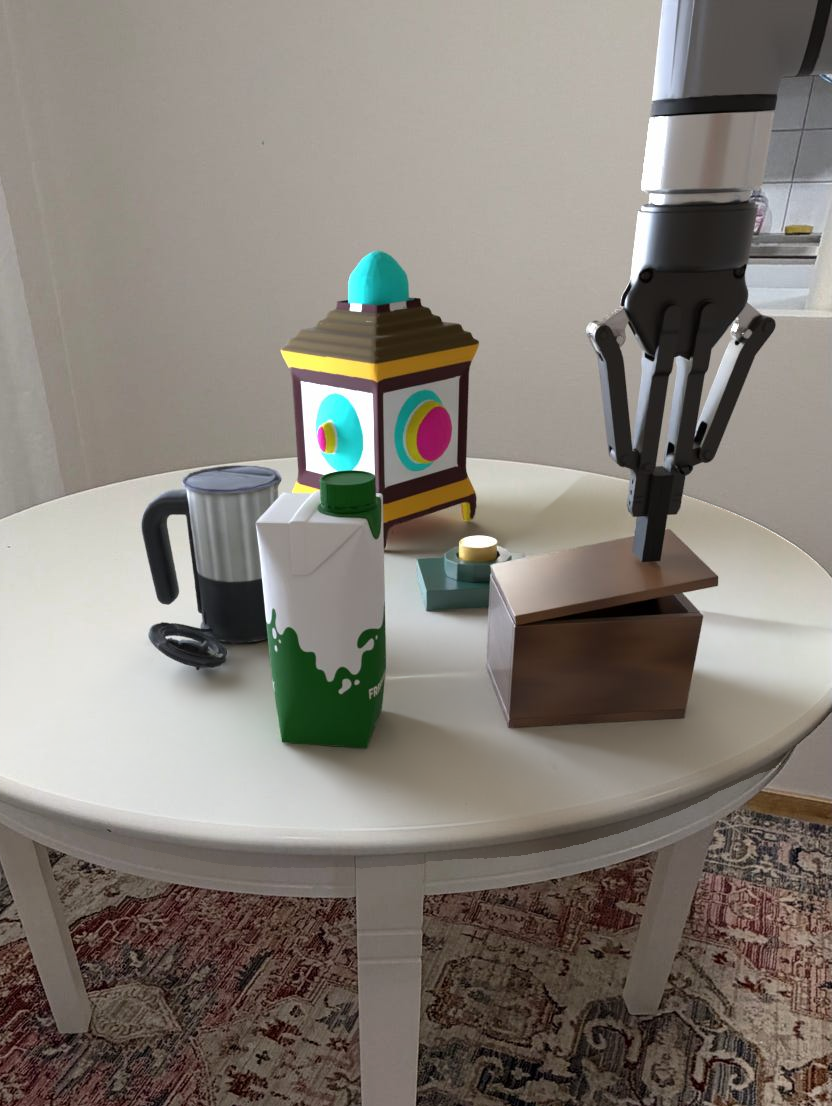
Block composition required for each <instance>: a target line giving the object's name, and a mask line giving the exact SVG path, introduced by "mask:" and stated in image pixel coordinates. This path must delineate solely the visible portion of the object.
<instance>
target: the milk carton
mask: <svg viewBox="0 0 832 1106" xmlns="http://www.w3.org/2000/svg"><path fill="white" fill-rule="evenodd" d="M256 529H257V537H258V545H259V553H260V562H261V572H262V583H263V593H264V603H265V614H266V624H267V634H268V639H267V642H268V643H267V644H268V654H269V662H270V663H269V664H270V672H271V674H270V675H271V681H272V688H273V695H274V702H275V706H276V707H275V708H276V713H277V720H278V721H277V722H278V727H279V733H280V739H281V743H283V744H284V743H286V744H287V743H288V744H301V745H314V746H315V745H316V746H330V747H342V748H358V749H367V748H368V746H369V744H370V741H371V738H372V735H373V733H374V730H375V727H376V725H377V723H378V721H379V720H378V719H379V717H380V715H381V712H382V709H383V702H384V693H385V684H386V683H385V681H386V671H387V638H386V637H387V635H386V633H387V632H386V590H385V589H386V585H385V584H386V581H385V550H384V540H383V495H382V494H379V493H376V477H375V475H374V474H372V473H370V472H366V471H359V470H345V471H336V472H331V473H328V474H325V475H323V476H322V477H321V478H320V491H315V492H314V493H292V492H282V493H281V494H280V495H278V499H277V500H276V501H275V502H274V503H273V504H272V505H271V506H270V507H269V508H268V510H267V511H266V512H265V513H264V514H263V515H262V516H261V517H260V518H259V519H258V520H257V522H256Z"/></svg>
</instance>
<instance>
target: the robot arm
mask: <svg viewBox="0 0 832 1106" xmlns="http://www.w3.org/2000/svg"><path fill="white" fill-rule="evenodd" d="M660 11H661V12H660V21H659V28H658V29H659V30H658V31H659V32H658V40H657V49H656V59H655V68H654V78H653V86H652V87H653V88H652V95H651V96H652V97H651V102H652V103H651V105H650V107H651V108H650V113H649V117H650V118H649V123H648V130H647V139H646V146H645V156H644V162H643V172H642V179H641V186H640V187H641V191H642V192H643V193H644V194H645V195H649V199H648V200H649V201H648V203H645V204H642V205H641V209H640V210H638V211H637V219H636V226H635V227H636V228H635V235H634V245H633V252H632V261H631V271H630V272H631V273H630V278H629V282H628V284H627V286H626V288H625V290H624V291H623V293H622V295H621V298H620V306H619V307H617V308H616V309H614V310H613V311H612V312H610V313H609V314H608V315H606V316H605V317H604V318H602V319H601V320H592V321H590V322H589V323H588V324H587V326H586V329H585V333H586V336H587V338H588V340H589V343H590V344H591V346H592V349H593V351H594V353H595V355H596V357H597V364H598V373H599V381H600V390H601V401H602V408H603V409H602V410H603V417H604V426H605V427H604V428H605V435H606V443H607V444H606V445H607V452H608V456H609V457H610V458H611V459H612V461H613V462H614V463H615V464H617V466H619V467H621V468H625V469H629V470H630V477H629V483H628V493H627V500H626V508H627V511H628V513H629V514H630V515H631V516H632V517H634V518H636V519H635V525H634V526H635V527H634V534H633V536H634V540H633V548H632V551H633V553H634V554H635V555H636V556H637V557H638V558H639V559H640V561H641V562H653V561H660V560H661V554H662V548H663V541H664V535H665V530H666V527H667V521H668V516H671V515H672V516H674V515H675V516H676V515H678V513H679V512H680V509H681V507H682V500H683V493H684V489H685V482H686V476H689V475H690V474H691V473H692V472H693V471H694V466H697V465H699V464H702V463H704V464H708V463H711V462H712V461H713V460H714V459H715V456H716V455H717V452H718V449H719V447H720V445H721V442H722V440H723V437H724V434H725V432H726V430H727V428H728V425H729V422H730V420H731V417H732V414H733V413H734V410H735V407H736V405H737V402H738V400H739V397H740V395H741V393H742V390H743V387H744V385H745V383H746V380H747V377H748V375H749V372H750V370H751V367H752V365H753V362H754V360H755V358H756V355H757V354H758V353H759V351H760V350H761V349H762V347H764V345H765V344H766V343H767V341H768V340H769V338H770V337H771V336H772V334H773V333H774V332H775V329H776V326H777V324H776V320H775V319H774V318H773V317H770V316H767V315H765V314H762V313H760V311H758V309H756V308H755V307H754V306H752V305H751V304H750V303H749V302H748V300H749V289H748V285H747V282H746V271H747V268H748V264H749V260H750V254H751V248H752V243H753V238H754V233H755V226H756V220H757V216H758V210H759V207H758V206H756V201H753V200H751V195H752V191H758V190H759V189H760V188H761V187H762V186H763V183H764V179H765V178H764V177H765V172H766V167H767V160H768V154H769V149H770V142H771V136H772V130H773V124H774V118H775V110H776V107H777V102H778V92H779V89H780V86H781V83H782V79H783V78H784V77H796V78H802V77H804V78H805V77H808V76H820V77H821V78H822V79H824V80H825V81H827V82H828V83H832V0H662V3H661V10H660ZM627 325H628V326H629V328H630V330H631V333H632V334H633V336H634V338H635V339H636V341H637V344H638V345H639V348H640V349H641V350H642V353H641V362H640V365H641V377H640V383H639V384H640V385H639V392H638V398H637V399H638V400H637V407H636V414H635V422H634V430H633V438H632V432H631V421H630V420H631V419H630V410H629V399H628V391H627V379H626V369H625V361H624V355H623V352H622V349H621V348H622V346H623V345H624V344H625V342H626V339H627V336H626V328H627ZM731 326H732V328H731V329H730V336H731V339H730V341H729V343H728V345H727V346H726V349H725V352H724V353H723V357H722V359H721V362H720V365H719V367H718V369H717V372H716V373H715V374H716V375H715V377H714V380H713V382H712V385H711V387H710V390H709V392H708V395H707V398H706V401H705V403H704V405H703V408H702V411H701V413H700V416H699V412H700V406H701V400H702V393H703V389H704V381H705V376H706V374H707V372H708V370H709V367H710V363H711V362H710V361H711V357H712V356H711V355H712V350H713V349H714V347H715V346H717V343H718V342H719V341H720V340H721V338H723V336H724V334H725V333H726V332H727V331H728V330H729V328H730V327H731ZM674 361H675V366H676V373H675V381H674V388H673V394H672V401H671V407H670V415H669V421H668V427H667V434H666V442H665V449H664V454H663V461H664V466H663V465H657V461H658V454H659V453H658V452H659V446H660V440H661V433H662V427H663V420H664V419H663V418H664V413H665V405H666V401H667V400H666V399H667V394H668V386H669V380H670V375H671V374H672V372H673V368H674Z"/></svg>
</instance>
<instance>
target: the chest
mask: <svg viewBox="0 0 832 1106" xmlns="http://www.w3.org/2000/svg"><path fill="white" fill-rule="evenodd" d="M487 615H488V617H487V636H486V659H485V669H486V672H487V674H488V677H489V680H490V682H491V685H492V687H493V690H494V692H495V693H494V694H495V695H496V698H497V701H498V703H499V706H500V708H501V712H502V714H503V716H504V720H505V722H506V724H507V727H508V728H509V729H510V728H528V727H530V728H531V727H546V726H563V725H581V724H583V725H584V724H598V723H599V724H600V723H614V722H615V723H616V722H633V721H650V720H651V721H652V720H668V719H684V718H685V717H686V713H687V706H688V701H689V696H690V691H691V684H692V681H693V675H694V669H695V664H696V658H697V652H698V648H699V644H700V643H699V642H700V637H701V632H702V626H703V621H704V615H703V614H702V613H701V611H700V610H699V609H698V608H697V607H696V606H695V605H694V604H693V602H691V600H690V599H689V598H688V597H687V596H686V594H684V593H680V594H674V595H669V596H664V597H659V598H654V599H649V600H644V601H638V602H633V603H628V604H623V605H618V606H613V607H608V608H603V609H597V610H592V611H587V612H582V613H577V614H572V615H567V616H561V617H556V618H551V619H546V620H541V621H536V622H531V623H526V624H520V625H516V624H515V622H514V620H513V618H512V616H511V614H510V612H509V609H508V607H507V605H506V603H505V601H504V599H503V597H502V595H501V593H500V591H499V588H498V586H497V584H496V582H495V580H494V578H493V576H492V574H490V592H489V608H488V613H487Z"/></svg>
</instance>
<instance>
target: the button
mask: <svg viewBox="0 0 832 1106" xmlns="http://www.w3.org/2000/svg"><path fill="white" fill-rule="evenodd" d="M498 543H499V542H498V540H497V539H496V538H494V537H492V536H487V535H470V536H465V537H463V538H461V539H460V540H459V542H458V546H459V559H462V560H464V561H471V562H487V561H491V560H494V559H497V546H498Z"/></svg>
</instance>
